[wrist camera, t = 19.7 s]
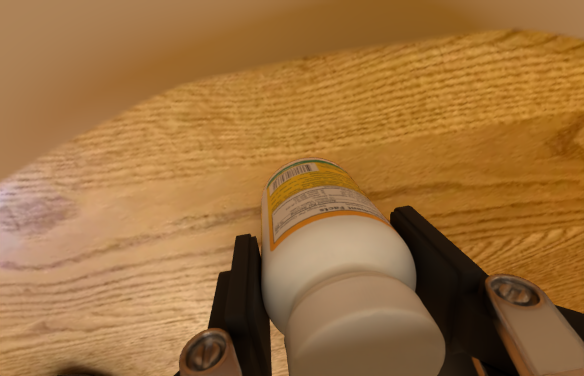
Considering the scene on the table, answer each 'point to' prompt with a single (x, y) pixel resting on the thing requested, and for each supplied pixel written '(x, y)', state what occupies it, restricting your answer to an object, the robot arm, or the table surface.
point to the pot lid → (457, 365)
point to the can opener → (73, 375)
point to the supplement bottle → (341, 279)
